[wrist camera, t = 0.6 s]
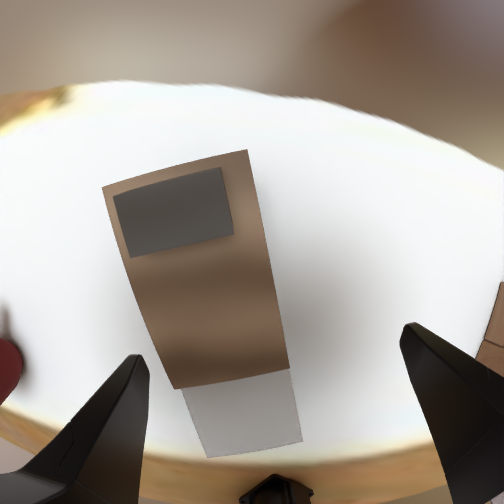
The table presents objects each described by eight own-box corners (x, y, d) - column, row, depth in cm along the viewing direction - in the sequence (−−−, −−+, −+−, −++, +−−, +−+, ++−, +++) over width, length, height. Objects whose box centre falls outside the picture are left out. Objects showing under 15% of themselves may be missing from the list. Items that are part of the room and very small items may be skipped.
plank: (285, 355, 21) (297, 393, 17) (176, 376, 20) (169, 414, 17) (245, 150, 16) (251, 147, 13) (111, 184, 16) (82, 192, 12)
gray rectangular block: (293, 408, 27) (303, 441, 21) (212, 423, 26) (207, 457, 21) (244, 181, 26) (245, 166, 20) (153, 203, 25) (132, 194, 20)
